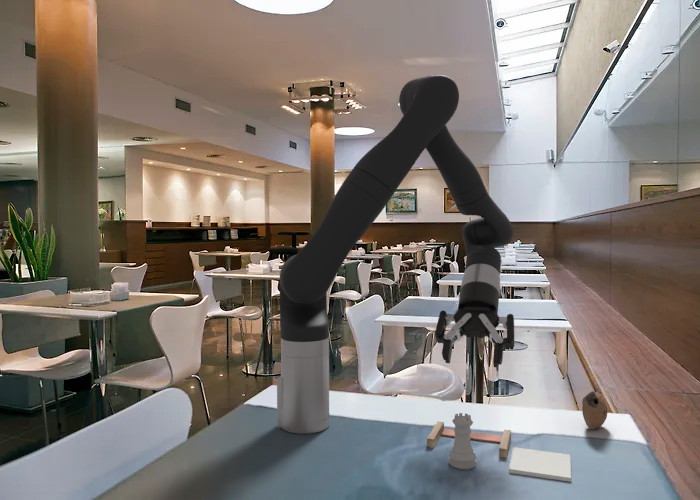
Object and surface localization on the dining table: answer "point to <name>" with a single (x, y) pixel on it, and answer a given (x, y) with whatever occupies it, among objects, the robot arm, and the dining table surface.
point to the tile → (540, 464)
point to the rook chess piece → (462, 444)
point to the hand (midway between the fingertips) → (471, 363)
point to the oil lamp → (594, 410)
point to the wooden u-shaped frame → (440, 431)
